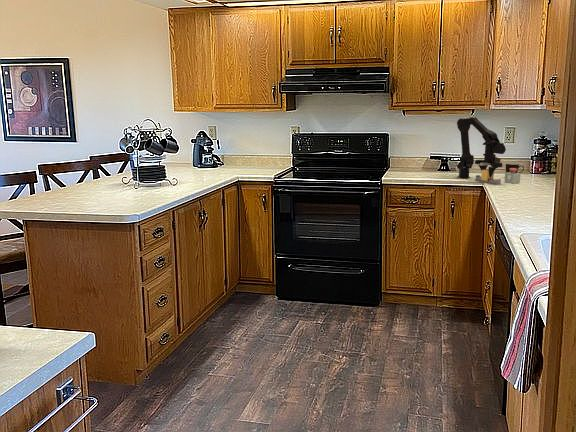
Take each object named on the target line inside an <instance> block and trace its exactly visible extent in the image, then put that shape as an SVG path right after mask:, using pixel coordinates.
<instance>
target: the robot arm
mask: <svg viewBox="0 0 576 432" xmlns="http://www.w3.org/2000/svg"><path fill="white" fill-rule="evenodd" d="M456 125H457V129H458V131H459V132H460V139H461V140H460V142H461V156H460V159H459V160H460V161H459V162H458V163H457V165H456V168H457V169H458V176H456V178H460V179H471V177H470V169H472V168H473V165H477V166H478V167H479V170H481V172H482V170H486V169H487V167H488V169H489V176H490V177H492V175H493V172H494V173H495V171H496V170H497V169H499V168H503V162H501V160H502V159H501V158H499V157H498V156H497V154H498V155H504V154H505V153H506V150H507V149H506V146H505V145H504V144H505V143H504V142H501V141H500V140H499V139H500V138H499V137H498V134H497V133H496V132H494V131H493V130H490V129H488V128H487V127H486V126H485V125H484V124H483V123H482V122H481V121H480V120H479V119H478V117H475V116H474V117H472V116H471V117H469V118H467V117H466V118H459V119H458V120H457V122H456ZM471 126H473V127H474V129H475V130H477V131H478V132H479V133H480V134H481V136H482V138H483V140H484V142H483V143H482V145H483V146H485V147H484V153H483V155H482V156H483V159H481V158H480V159H476V160H475V158H474V157H475V156H474V155H473V154H471V149H470V147H471V146H470V137H469V136H470V135H469V134H470V133H469V131H470V128H471Z"/></svg>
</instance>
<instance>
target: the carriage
mask: <svg viewBox="0 0 576 432" xmlns="http://www.w3.org/2000/svg"><path fill="white" fill-rule="evenodd" d="M480 176H481V180H485V181H488V178H491V179H494V176H495V171H494V172H493V175H492V177H490V176H489V168H488V169H487V168H486V170H482V171H481V174H480Z"/></svg>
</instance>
